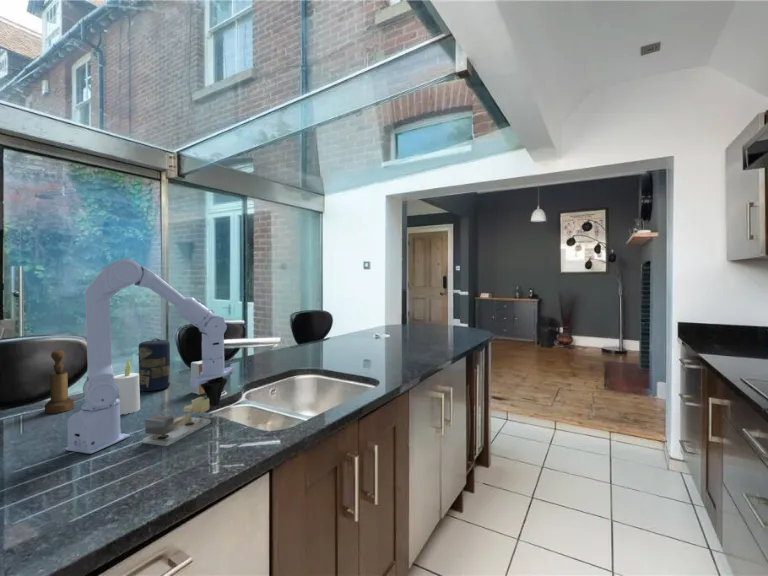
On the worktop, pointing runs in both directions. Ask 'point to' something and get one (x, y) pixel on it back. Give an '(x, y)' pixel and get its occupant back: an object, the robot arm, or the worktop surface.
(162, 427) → the grey blocky hammer
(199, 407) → the sliding leg
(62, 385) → the brown tall knobbed cylinder
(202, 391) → the small box
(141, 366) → the canister
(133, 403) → the candle
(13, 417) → the worktop surface
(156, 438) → the bolt plate
